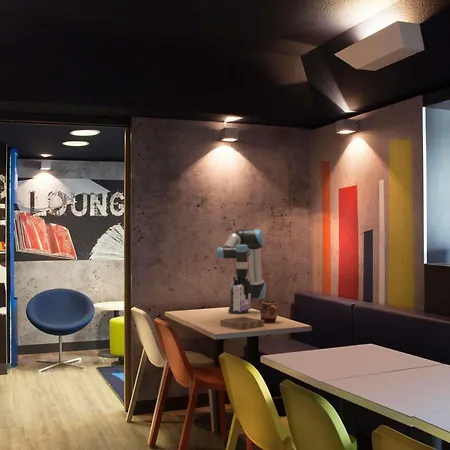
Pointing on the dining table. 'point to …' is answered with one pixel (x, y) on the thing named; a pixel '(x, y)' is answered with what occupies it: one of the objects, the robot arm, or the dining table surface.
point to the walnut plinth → (242, 323)
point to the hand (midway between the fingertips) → (242, 303)
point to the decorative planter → (269, 311)
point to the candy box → (240, 299)
